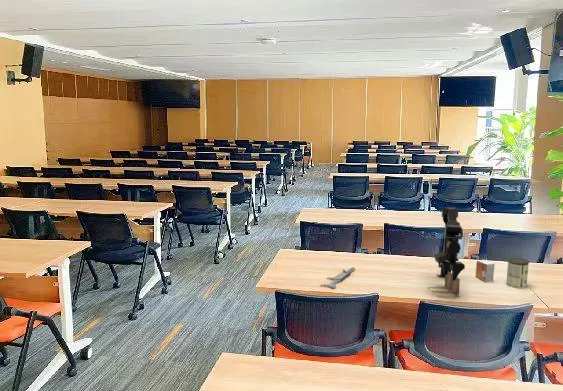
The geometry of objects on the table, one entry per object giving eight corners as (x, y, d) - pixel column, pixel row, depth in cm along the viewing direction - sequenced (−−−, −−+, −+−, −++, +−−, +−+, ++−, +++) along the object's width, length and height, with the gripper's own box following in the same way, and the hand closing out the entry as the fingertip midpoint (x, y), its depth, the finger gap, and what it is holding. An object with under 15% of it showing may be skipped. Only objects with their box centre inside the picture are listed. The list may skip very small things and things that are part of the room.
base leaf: (427, 289, 259) (427, 286, 259) (447, 288, 261) (447, 285, 260) (438, 299, 246) (439, 295, 245) (459, 298, 247) (459, 295, 247)
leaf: (447, 288, 261) (443, 288, 260) (447, 270, 259) (444, 270, 259) (459, 298, 247) (456, 298, 247) (460, 279, 245) (457, 279, 245)
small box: (475, 278, 277) (476, 260, 276) (482, 277, 279) (484, 259, 277) (485, 282, 270) (486, 264, 268) (493, 281, 272) (494, 263, 270)
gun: (342, 263, 294) (358, 264, 289) (342, 269, 295) (358, 270, 290) (316, 282, 263) (333, 283, 258) (317, 288, 264) (334, 290, 259)
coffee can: (507, 280, 273) (509, 256, 271) (527, 284, 268) (529, 259, 266) (504, 286, 265) (506, 261, 262) (525, 289, 259) (528, 264, 257)
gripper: (429, 243, 258) (427, 271, 260) (445, 253, 239) (442, 283, 242) (449, 243, 259) (447, 271, 262) (466, 253, 241) (463, 283, 243)
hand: (449, 277), depth 252 cm, fingers open, 9 cm apart
